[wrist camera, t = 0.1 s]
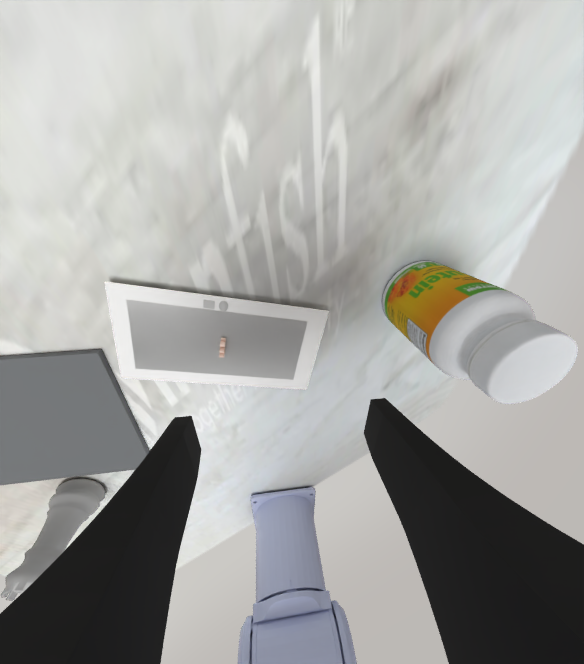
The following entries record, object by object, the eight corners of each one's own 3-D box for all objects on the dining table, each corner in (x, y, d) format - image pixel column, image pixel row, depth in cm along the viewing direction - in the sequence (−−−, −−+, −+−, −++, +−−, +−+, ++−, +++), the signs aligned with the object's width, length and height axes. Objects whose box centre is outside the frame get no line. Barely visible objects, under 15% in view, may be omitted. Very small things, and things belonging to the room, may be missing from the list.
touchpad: (304, 381, 23) (308, 398, 21) (127, 369, 20) (114, 387, 18) (326, 305, 19) (333, 317, 17) (113, 276, 16) (94, 287, 15)
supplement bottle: (442, 245, 18) (609, 294, 9) (451, 306, 20) (587, 386, 12) (372, 280, 18) (468, 355, 10) (389, 334, 21) (477, 429, 13)
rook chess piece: (78, 504, 27) (16, 610, 20) (48, 482, 25) (-32, 594, 18) (116, 493, 27) (68, 596, 20) (90, 471, 25) (25, 579, 18)
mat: (154, 462, 25) (153, 467, 25) (-20, 482, 24) (-25, 488, 23) (101, 349, 18) (97, 352, 18) (-150, 366, 17) (-161, 371, 16)
